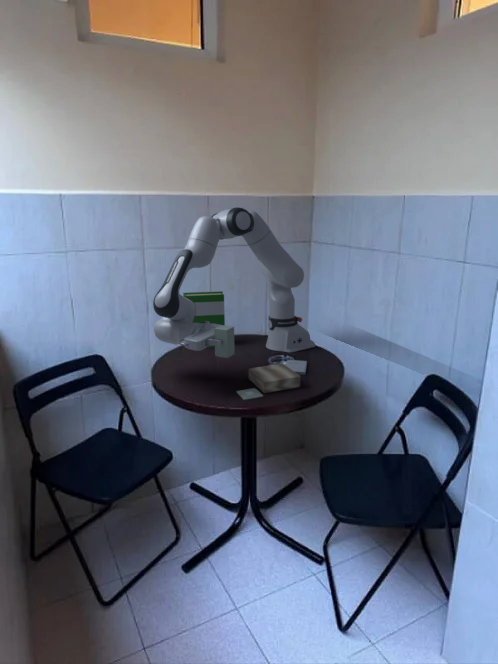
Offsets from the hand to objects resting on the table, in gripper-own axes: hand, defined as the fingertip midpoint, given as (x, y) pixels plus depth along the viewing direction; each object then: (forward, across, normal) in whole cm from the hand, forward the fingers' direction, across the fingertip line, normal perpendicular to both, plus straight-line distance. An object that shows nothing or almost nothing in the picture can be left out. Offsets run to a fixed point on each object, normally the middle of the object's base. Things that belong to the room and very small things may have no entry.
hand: (226, 340), depth 155 cm
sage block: (-1, 0, +6) cm, 6 cm away
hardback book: (-32, +35, +17) cm, 51 cm away
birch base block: (+14, +10, +17) cm, 24 cm away
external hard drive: (+15, +26, +18) cm, 36 cm away
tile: (+11, -4, +17) cm, 20 cm away
